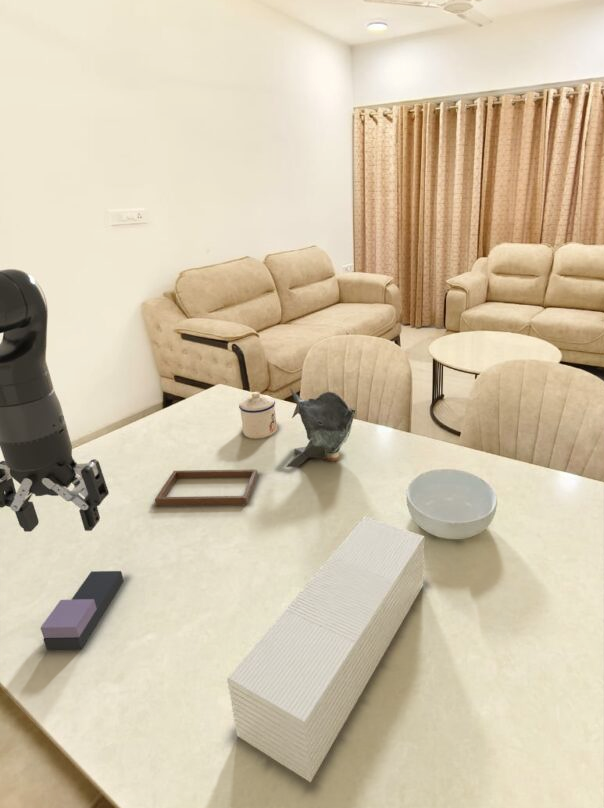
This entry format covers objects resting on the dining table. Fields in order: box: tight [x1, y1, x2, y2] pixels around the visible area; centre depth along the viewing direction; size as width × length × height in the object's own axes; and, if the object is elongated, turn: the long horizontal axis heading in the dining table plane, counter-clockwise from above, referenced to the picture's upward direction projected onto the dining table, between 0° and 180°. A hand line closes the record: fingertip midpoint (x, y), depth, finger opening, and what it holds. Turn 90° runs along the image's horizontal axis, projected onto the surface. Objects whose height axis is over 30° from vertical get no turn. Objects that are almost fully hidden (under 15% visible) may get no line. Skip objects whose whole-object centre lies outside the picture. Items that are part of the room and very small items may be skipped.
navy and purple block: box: [40, 570, 125, 651], centre depth 77 cm, size 5×13×5 cm, turn 0°
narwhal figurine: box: [285, 386, 356, 469], centre depth 115 cm, size 14×15×18 cm
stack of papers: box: [226, 516, 425, 783], centre depth 69 cm, size 32×11×11 cm, turn 152°
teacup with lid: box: [238, 391, 278, 439], centre depth 131 cm, size 12×9×12 cm
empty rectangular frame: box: [154, 469, 259, 507], centre depth 107 cm, size 19×11×2 cm, turn 90°
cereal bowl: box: [405, 468, 498, 540], centre depth 96 cm, size 17×17×7 cm
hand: (62, 527), depth 71 cm, fingers open, 8 cm apart
